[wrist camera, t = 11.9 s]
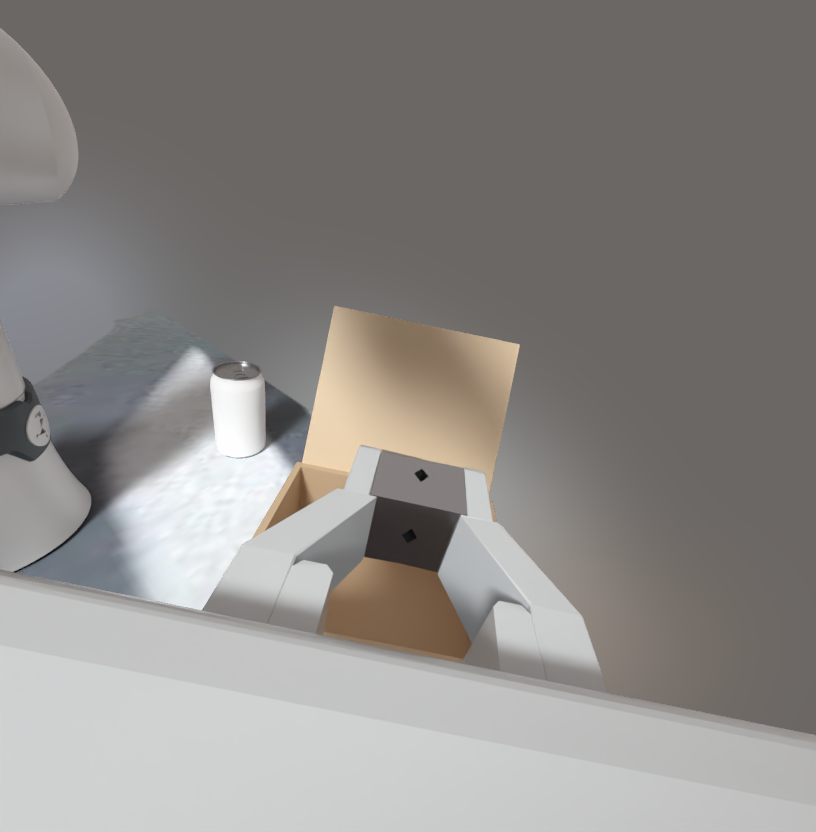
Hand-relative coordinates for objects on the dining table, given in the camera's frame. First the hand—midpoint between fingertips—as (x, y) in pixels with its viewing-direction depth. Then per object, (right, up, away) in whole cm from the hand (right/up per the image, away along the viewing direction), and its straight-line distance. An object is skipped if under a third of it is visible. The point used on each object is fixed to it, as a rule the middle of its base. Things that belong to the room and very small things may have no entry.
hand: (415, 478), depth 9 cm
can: (-24, -3, +43) cm, 50 cm away
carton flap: (0, +3, +27) cm, 27 cm away
